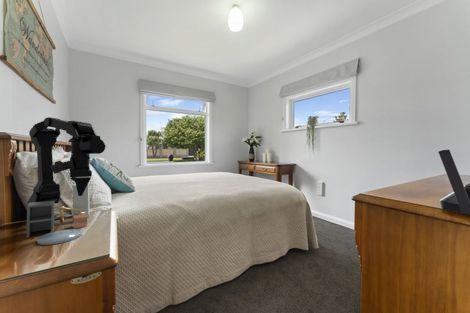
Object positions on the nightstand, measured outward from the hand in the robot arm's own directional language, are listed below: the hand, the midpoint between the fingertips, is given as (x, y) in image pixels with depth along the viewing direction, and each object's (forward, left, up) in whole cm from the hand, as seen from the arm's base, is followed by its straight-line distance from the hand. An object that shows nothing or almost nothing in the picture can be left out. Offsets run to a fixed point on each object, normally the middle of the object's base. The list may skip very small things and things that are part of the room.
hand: (79, 194), depth 79 cm
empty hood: (+5, -9, -12) cm, 16 cm away
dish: (+12, +1, -12) cm, 17 cm away
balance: (-6, -9, -12) cm, 16 cm away
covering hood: (+5, -9, -7) cm, 13 cm away
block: (0, 0, -12) cm, 13 cm away
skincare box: (-16, -7, -13) cm, 22 cm away
